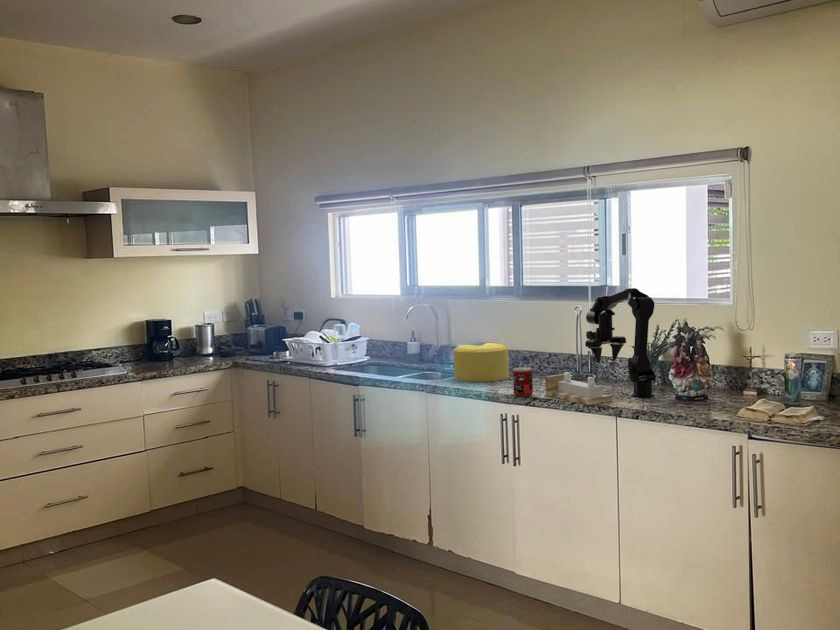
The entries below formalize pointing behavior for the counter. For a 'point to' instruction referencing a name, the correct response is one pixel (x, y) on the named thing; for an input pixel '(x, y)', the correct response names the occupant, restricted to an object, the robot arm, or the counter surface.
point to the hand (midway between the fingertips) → (606, 361)
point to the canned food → (522, 381)
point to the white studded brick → (579, 387)
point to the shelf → (553, 392)
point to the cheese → (481, 362)
